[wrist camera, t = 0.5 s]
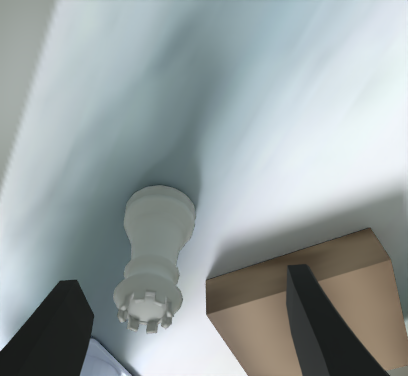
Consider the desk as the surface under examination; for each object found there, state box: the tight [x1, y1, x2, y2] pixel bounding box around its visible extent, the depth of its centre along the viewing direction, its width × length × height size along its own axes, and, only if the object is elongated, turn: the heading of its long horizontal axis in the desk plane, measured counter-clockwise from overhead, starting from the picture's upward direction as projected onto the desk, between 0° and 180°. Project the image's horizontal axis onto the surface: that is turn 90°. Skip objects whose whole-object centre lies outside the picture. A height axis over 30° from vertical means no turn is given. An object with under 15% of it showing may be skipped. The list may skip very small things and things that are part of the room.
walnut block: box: [206, 228, 408, 376], centre depth 26 cm, size 12×12×3 cm
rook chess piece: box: [113, 185, 196, 334], centre depth 19 cm, size 4×4×8 cm
